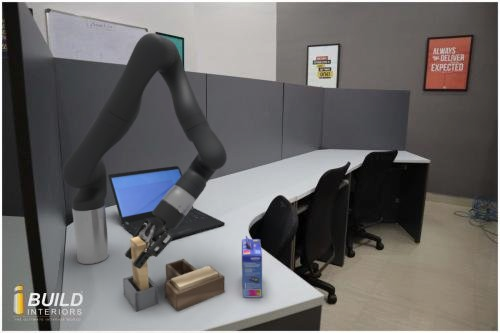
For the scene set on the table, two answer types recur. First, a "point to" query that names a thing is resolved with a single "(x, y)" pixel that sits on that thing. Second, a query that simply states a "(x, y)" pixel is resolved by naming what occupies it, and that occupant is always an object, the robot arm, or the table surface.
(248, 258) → the ink cartridge box
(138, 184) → the laptop
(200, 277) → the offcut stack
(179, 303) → the tray
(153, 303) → the holder
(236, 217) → the table surface
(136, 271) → the oak slat
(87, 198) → the robot arm
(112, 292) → the table surface
